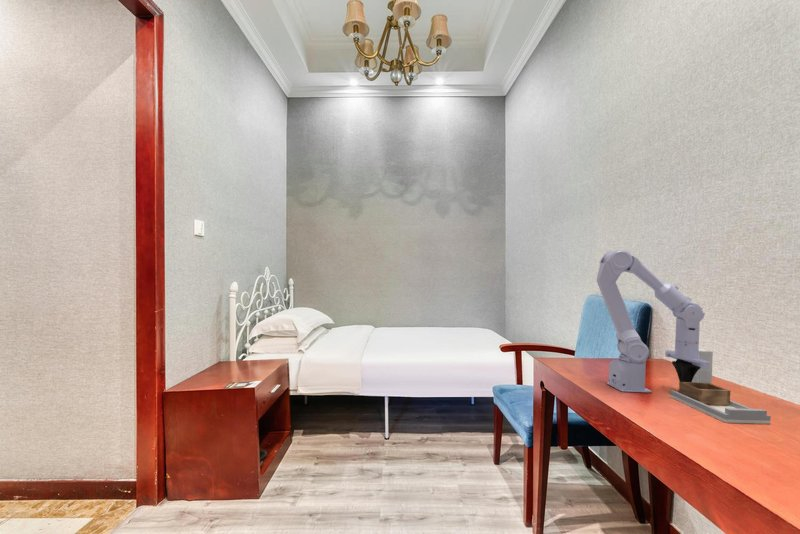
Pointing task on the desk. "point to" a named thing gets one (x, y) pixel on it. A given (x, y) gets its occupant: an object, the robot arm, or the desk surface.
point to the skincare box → (704, 374)
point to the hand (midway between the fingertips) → (685, 385)
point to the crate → (705, 393)
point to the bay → (726, 410)
